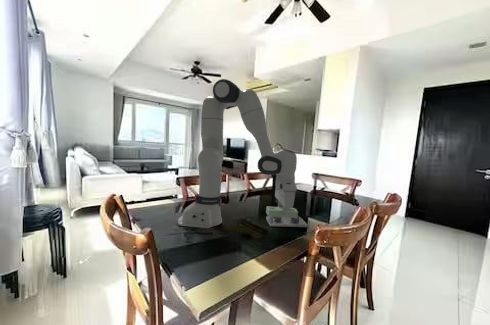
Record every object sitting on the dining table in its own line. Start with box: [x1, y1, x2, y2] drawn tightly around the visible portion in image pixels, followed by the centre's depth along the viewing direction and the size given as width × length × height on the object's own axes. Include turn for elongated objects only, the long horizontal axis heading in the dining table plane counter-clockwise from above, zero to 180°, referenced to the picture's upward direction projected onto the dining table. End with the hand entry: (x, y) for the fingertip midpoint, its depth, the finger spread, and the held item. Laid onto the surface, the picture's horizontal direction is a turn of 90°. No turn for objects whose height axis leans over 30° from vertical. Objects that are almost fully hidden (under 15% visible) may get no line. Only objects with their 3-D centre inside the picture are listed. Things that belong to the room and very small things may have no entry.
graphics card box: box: [270, 174, 278, 207], centre depth 143 cm, size 17×7×27 cm, turn 168°
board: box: [265, 205, 299, 218], centre depth 107 cm, size 14×6×3 cm, turn 96°
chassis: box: [265, 208, 308, 228], centre depth 121 cm, size 20×11×8 cm, turn 96°
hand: (281, 211), depth 107 cm, fingers closed on board, 6 cm apart
